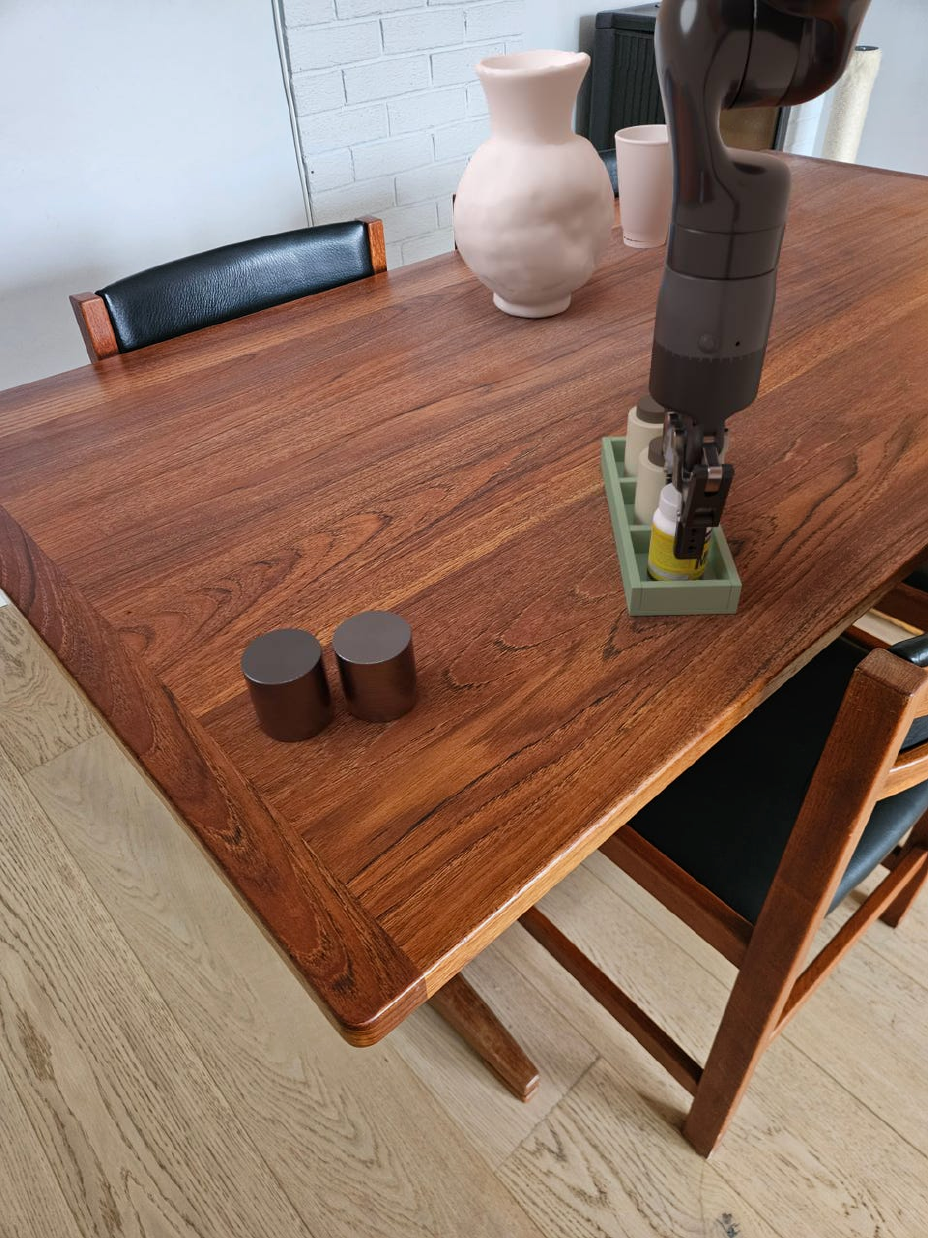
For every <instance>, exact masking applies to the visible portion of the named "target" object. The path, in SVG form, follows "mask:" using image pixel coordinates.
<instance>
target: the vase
mask: <svg viewBox="0 0 928 1238" xmlns="http://www.w3.org/2000/svg"><path fill="white" fill-rule="evenodd" d="M590 65H591V56H590V55H589V54H588V53H586V52H584V51H580V52H575V51H562V50H559V49H549V48H541V49H533V50H524V51H519V52H509V53H506V54H499V55H493V56H489V57H484V58H481V59H480V60H479V61H478V62H477V63H476V64H475V74H476V75H477V77H478V79H479V82H480V85H481V87H482V90H483V92H484V95H485V99H486V102H487V110H488V115H489V123H490V129H491V130H490V131H491V134H490V137H489V138H487V139H486V140H485V141H484V142H482V143H481V145H479V147H478V148H476V150H475V151H474V152H473V154H472V155H471V159H470V160H469V161H468V164H467V165H466V167H465V169H464V171H463V173H462V176H461V178H460V180H459V183H458V185H457V190H456V194H455V199H454V202H453V211H452V212H453V215H452V228H453V233H454V234H453V235H454V236H453V237H454V240H455V244H456V247H457V251H458V252H459V254H460V255H461V258H462V260H463V262H464V263H465V266H467V268H469V270H470V271H471V273H472V274H473V275H474V276H476V278H477V280H478V281H480V282H481V284H482V285H484V286H485V287H486V288H487V289H488V290H489V291H491V292H493V296H492V297H493V299H492V302H493V304H494V305H495V307H496V308H498V309H499V310H500V311H502V312H503V313H506V314H508V315H510V316H514V317H520V318H529V319H540V318H547V317H551V316H555V315H558V314H560V313H564V312H565V311H566V310H567V309H568V308H569V307H570V304H571V300H572V293H574V292H575V291H576V290H579V289H581V288H582V287H583V286H584V285H585V284H586V283H587V282H588V281H589V280H590V279H591V278H592V276H593V275H594V274H595V272H596V270H597V268H598V266H599V264H600V263H601V261H602V260H603V258H604V257H605V253H606V250H607V248H608V245H609V242H610V240H611V237H612V232H613V225H614V220H615V193H614V189H613V186H612V182H611V180H610V179H611V178H610V174H609V170H608V169H607V166H606V164H605V162H604V161H603V159H602V158H601V157H600V155H599V153H598V151H597V150H596V148H595V146H594V145H593V144H592V142H591V141H590V140H588V139H587V138H586V137H584V136H582V135H579V134H577V133H576V132H575V131H574V130H573V129H572V121H573V113H574V107H575V104H576V100H577V97H578V94H579V91H580V88H581V85H582V83H583V81H584V78H585V77H586V74H587V72H588V70H589V68H590Z"/></svg>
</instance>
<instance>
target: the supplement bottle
mask: <svg viewBox="0 0 928 1238" xmlns="http://www.w3.org/2000/svg"><path fill="white" fill-rule="evenodd" d="M677 508H678V491H677V490H676V489H675V488H674V487H673V485H672V483H670V484H668V485H666V486H665V487H664V488H663V489H662V491H661V495H660V501H659V508H658V509H657V510H656V511H655V513H654V516H653V523H652V532H651V540H650V548H649V557H648V565H647V579H648V581H689V580H703V579H704V574H705V568H706V562H707V556H708V551H709V546H710V539H711V533H712V529H713V527H707V531H706V537H705V543H704V549H703V555H702V556H701V557H700V558H699V559H684V560H678V559H676V558H675V557H674V554H673V544H674V537H675V529H676V522H677V517H676V511H677Z"/></svg>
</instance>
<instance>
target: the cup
mask: <svg viewBox="0 0 928 1238" xmlns="http://www.w3.org/2000/svg"><path fill="white" fill-rule="evenodd" d="M614 140H615V155H616V169H617V185H618V186H617V187H618V200H619V215H620V227H621V228H622V234H623V235H622V236H623V237H622V238H623V239H622V240H623V244H624V245H625V246H626V247H627V246H628V247H630V248H634V249H654V248H658V247H662V246H663V245H665V244H666V242H667V236H668V226H669V218H670V206H671V166H670V153H669V142H668V133H667V126H666V124H643V125H635V126H630V127H625V128H622V129H620V130H617V131H616V132H615V134H614ZM624 236H625V237H626V238H629V239H632V240H637V241H638V240H639V241H651V240H658V239H661V238H664V237H665V236H666V238H664V239H662V240H659V241H654V242H635V241H630V240H627V239H626V238H624Z"/></svg>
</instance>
